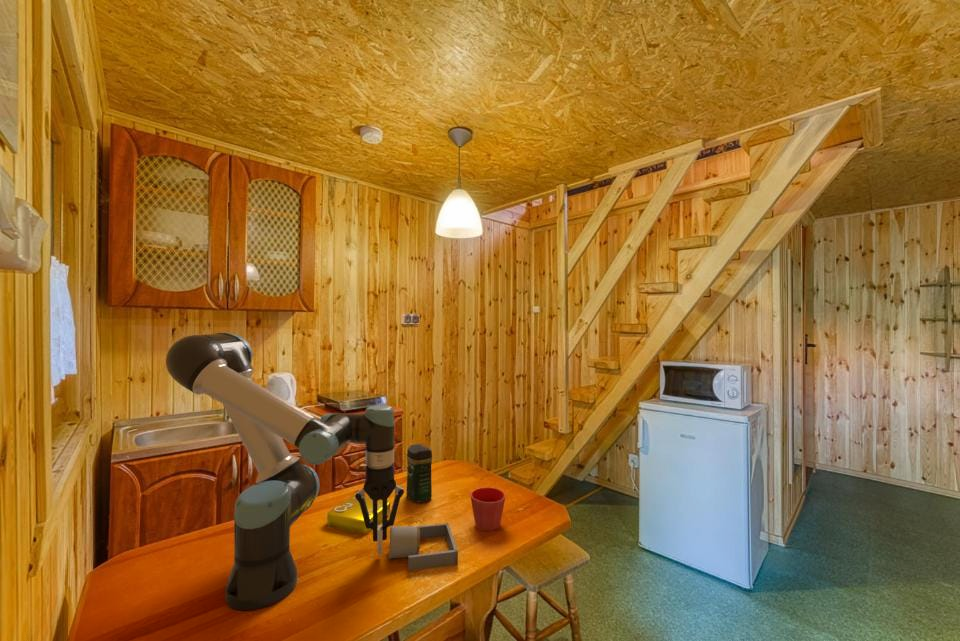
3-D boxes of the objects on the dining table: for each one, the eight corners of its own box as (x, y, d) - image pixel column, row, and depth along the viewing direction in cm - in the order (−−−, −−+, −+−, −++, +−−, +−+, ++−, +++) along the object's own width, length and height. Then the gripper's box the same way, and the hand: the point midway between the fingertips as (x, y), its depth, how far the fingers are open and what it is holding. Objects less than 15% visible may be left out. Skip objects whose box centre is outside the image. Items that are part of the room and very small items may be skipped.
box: (408, 571, 105) (408, 557, 105) (404, 539, 120) (404, 527, 120) (457, 564, 108) (457, 551, 108) (448, 534, 123) (448, 523, 123)
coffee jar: (435, 500, 146) (435, 448, 145) (414, 505, 141) (414, 451, 141) (423, 490, 154) (424, 440, 154) (403, 495, 149) (404, 444, 149)
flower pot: (486, 538, 121) (487, 505, 121) (463, 523, 129) (463, 493, 129) (512, 526, 128) (512, 495, 128) (488, 513, 136) (488, 484, 136)
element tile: (364, 536, 122) (365, 520, 122) (324, 527, 127) (324, 511, 127) (392, 514, 136) (392, 499, 136) (354, 506, 141) (354, 492, 141)
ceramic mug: (420, 561, 109) (420, 532, 109) (388, 564, 108) (389, 535, 108) (417, 540, 120) (417, 514, 120) (388, 543, 118) (389, 516, 118)
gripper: (354, 471, 105) (354, 563, 105) (405, 467, 108) (405, 556, 108) (355, 461, 112) (355, 547, 113) (403, 457, 115) (403, 541, 116)
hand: (379, 551), depth 111 cm, fingers closed
